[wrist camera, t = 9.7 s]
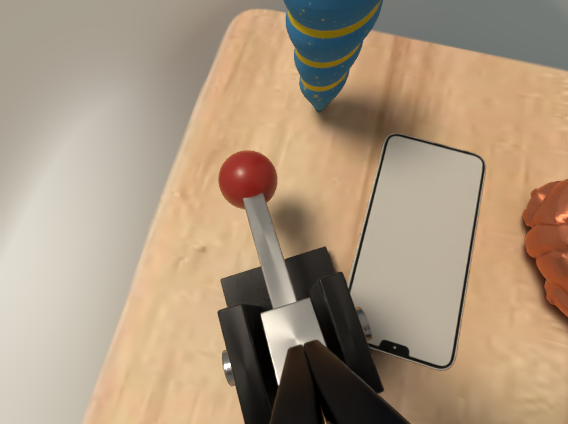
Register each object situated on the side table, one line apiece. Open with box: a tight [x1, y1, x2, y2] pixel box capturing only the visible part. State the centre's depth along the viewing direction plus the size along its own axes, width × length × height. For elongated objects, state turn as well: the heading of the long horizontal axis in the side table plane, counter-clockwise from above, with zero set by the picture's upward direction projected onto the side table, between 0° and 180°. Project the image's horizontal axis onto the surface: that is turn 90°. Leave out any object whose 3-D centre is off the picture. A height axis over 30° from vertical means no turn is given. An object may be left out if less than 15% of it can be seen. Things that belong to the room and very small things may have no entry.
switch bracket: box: [218, 247, 384, 424], centre depth 17 cm, size 9×7×10 cm
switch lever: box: [219, 151, 328, 387], centre depth 17 cm, size 12×3×3 cm, turn 18°
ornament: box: [284, 0, 383, 111], centre depth 19 cm, size 5×5×15 cm
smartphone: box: [347, 133, 486, 370], centre depth 24 cm, size 7×1×15 cm
